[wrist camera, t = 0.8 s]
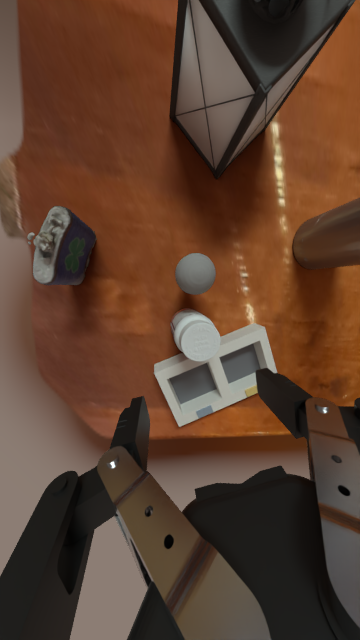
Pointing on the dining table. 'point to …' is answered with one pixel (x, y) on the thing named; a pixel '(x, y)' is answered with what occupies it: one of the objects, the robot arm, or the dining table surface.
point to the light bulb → (195, 273)
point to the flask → (62, 248)
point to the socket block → (215, 375)
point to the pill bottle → (195, 335)
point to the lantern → (242, 67)
